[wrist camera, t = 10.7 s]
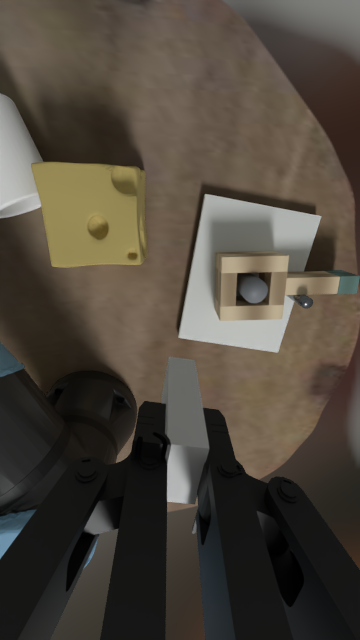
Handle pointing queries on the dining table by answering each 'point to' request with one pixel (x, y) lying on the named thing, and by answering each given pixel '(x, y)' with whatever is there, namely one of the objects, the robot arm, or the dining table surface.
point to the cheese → (92, 213)
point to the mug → (16, 163)
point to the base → (241, 238)
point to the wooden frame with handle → (270, 284)
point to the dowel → (302, 300)
